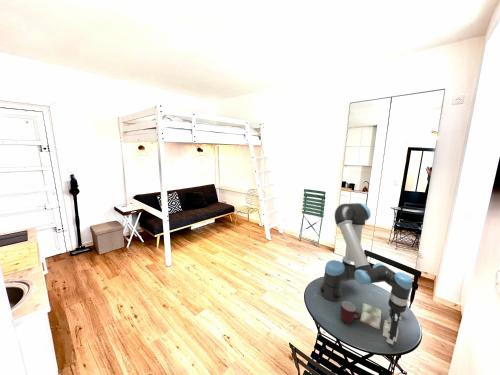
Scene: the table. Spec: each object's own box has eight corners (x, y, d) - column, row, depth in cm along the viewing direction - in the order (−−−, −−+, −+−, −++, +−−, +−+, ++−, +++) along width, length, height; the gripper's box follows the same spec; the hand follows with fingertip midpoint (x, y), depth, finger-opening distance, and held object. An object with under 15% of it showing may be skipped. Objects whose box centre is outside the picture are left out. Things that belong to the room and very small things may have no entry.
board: (360, 320, 120) (360, 319, 120) (363, 304, 133) (363, 302, 133) (379, 330, 115) (380, 328, 114) (380, 311, 128) (381, 310, 127)
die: (382, 335, 111) (385, 326, 110) (383, 327, 116) (385, 319, 115) (395, 341, 108) (398, 332, 107) (395, 333, 113) (397, 324, 112)
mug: (356, 318, 122) (359, 304, 120) (359, 329, 114) (362, 314, 112) (337, 312, 125) (340, 299, 123) (339, 323, 117) (342, 309, 115)
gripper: (408, 320, 95) (398, 356, 100) (405, 291, 115) (397, 322, 120) (389, 312, 100) (381, 347, 104) (389, 285, 119) (382, 316, 124)
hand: (389, 334), depth 112 cm, fingers open, 11 cm apart
